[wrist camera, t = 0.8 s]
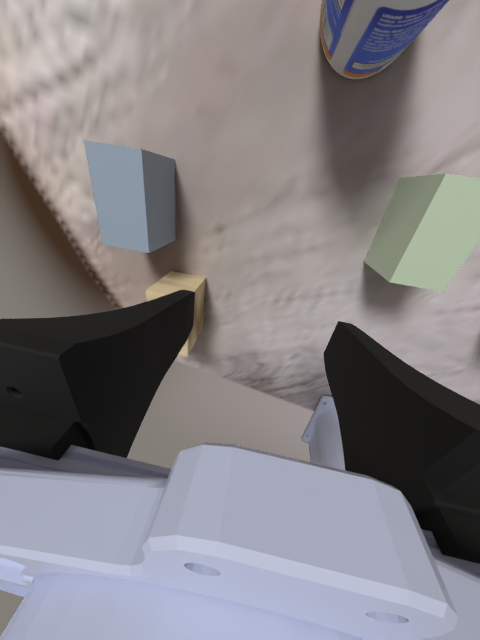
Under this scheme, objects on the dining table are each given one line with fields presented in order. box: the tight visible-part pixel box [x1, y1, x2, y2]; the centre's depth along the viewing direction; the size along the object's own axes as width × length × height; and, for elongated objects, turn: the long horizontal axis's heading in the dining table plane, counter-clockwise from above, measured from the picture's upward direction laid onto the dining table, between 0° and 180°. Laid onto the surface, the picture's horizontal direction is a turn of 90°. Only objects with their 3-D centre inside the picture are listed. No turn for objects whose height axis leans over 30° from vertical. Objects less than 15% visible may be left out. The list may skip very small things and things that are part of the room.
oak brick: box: [146, 271, 206, 357], centre depth 21 cm, size 6×4×5 cm, turn 172°
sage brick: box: [364, 174, 480, 292], centre depth 15 cm, size 6×4×5 cm, turn 172°
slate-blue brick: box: [84, 140, 176, 253], centre depth 17 cm, size 6×4×5 cm, turn 172°
